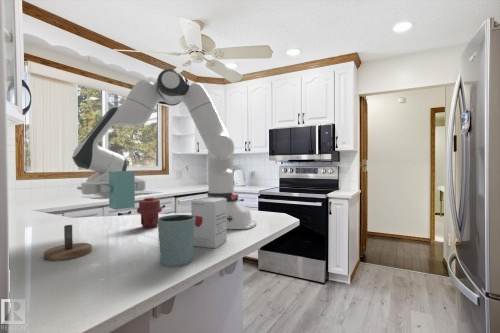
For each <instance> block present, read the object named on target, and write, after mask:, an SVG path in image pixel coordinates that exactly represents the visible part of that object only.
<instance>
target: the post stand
mask: <svg viewBox="0 0 500 333" xmlns="http://www.w3.org/2000/svg"><path fill="white" fill-rule="evenodd" d="M63 229H64V230H63V231H64V232H63V233H64V241H63V242H64V244H62V245H57V246H52V247H50V248H48V249H45V251H43V259H44V260H45V261H48V260H50V261H49V262H56V261H57V262H59V261H68V260H73V259H78V258H81V257H83V256H86V255H89V254H90V253H92V251H93V249H92V248H93V246H92V244H91V243H87V242H74V243H73V224H67V225H66V224H65V225H64V226H63Z"/></svg>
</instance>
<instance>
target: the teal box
mask: <svg viewBox="0 0 500 333" xmlns="http://www.w3.org/2000/svg"><path fill="white" fill-rule="evenodd" d="M135 178H136V176H135V170H126V171H109V186H113V191H111V192H109V198H108V208H110V209H112V210H125V209H132V208H133V209H134V208H136V206H135V205H136V202H135V201H136V199H135V198H136V197H135V196H136V195H135V193H136V191H135Z"/></svg>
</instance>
